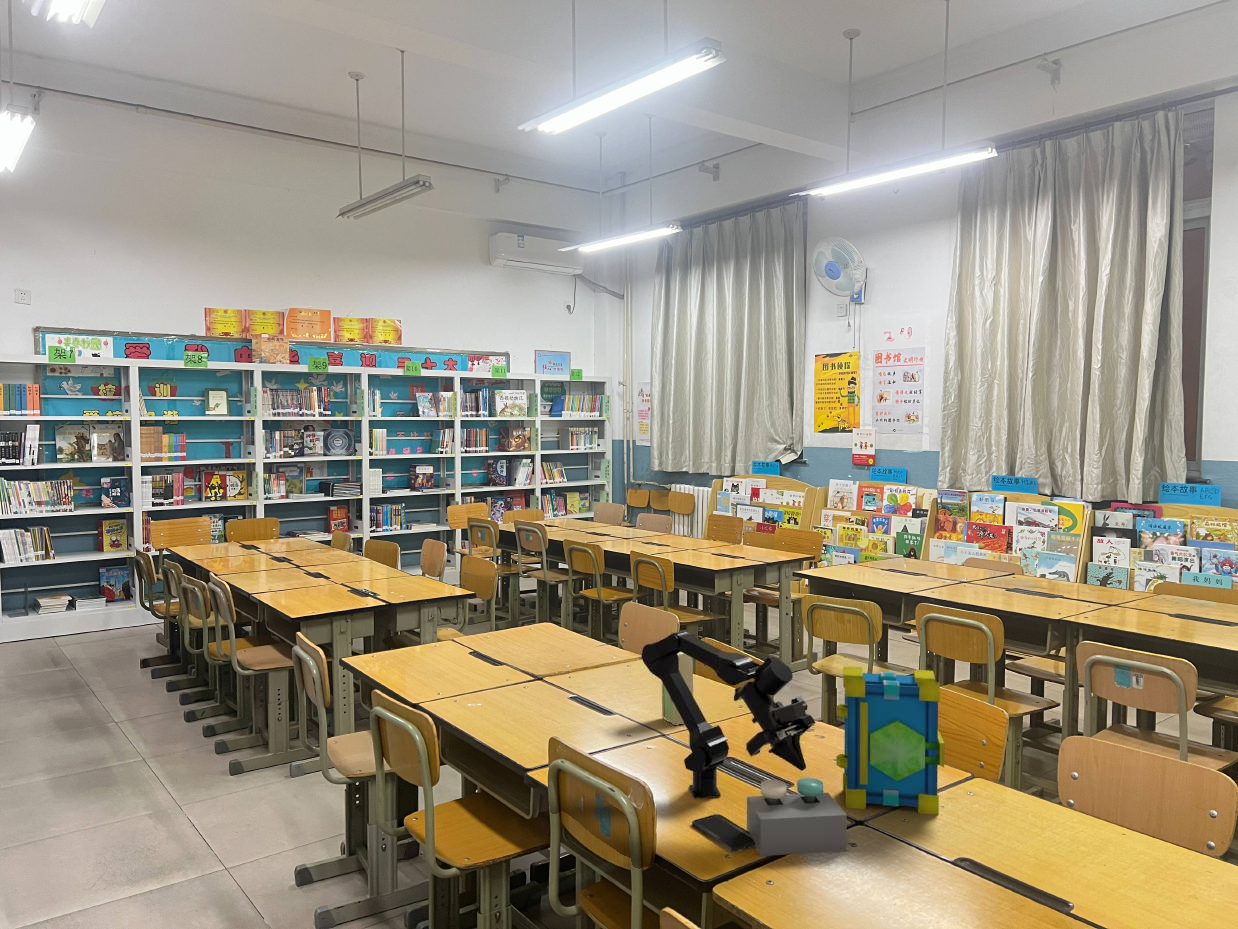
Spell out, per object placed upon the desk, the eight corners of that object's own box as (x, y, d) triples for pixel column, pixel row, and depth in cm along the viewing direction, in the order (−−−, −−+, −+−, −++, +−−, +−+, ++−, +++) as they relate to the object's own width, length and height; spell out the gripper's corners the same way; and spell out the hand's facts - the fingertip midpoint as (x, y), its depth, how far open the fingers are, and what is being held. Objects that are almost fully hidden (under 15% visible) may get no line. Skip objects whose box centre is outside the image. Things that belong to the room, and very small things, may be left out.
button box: (746, 831, 186) (746, 796, 185) (827, 826, 188) (828, 792, 187) (760, 856, 175) (760, 819, 174) (846, 851, 177) (846, 815, 176)
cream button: (757, 802, 185) (757, 780, 185) (782, 801, 186) (782, 779, 186) (764, 813, 180) (764, 790, 180) (789, 812, 181) (789, 789, 180)
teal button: (793, 800, 186) (793, 778, 186) (818, 799, 187) (818, 777, 187) (801, 811, 181) (801, 788, 181) (826, 810, 181) (826, 787, 181)
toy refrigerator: (659, 718, 258) (658, 649, 258) (680, 715, 262) (680, 646, 261) (671, 726, 251) (671, 655, 250) (693, 723, 254) (693, 652, 254)
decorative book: (945, 819, 191) (946, 685, 189) (837, 811, 195) (838, 680, 194) (934, 793, 205) (935, 668, 203) (834, 785, 209) (835, 663, 208)
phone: (718, 813, 193) (762, 840, 180) (718, 818, 193) (762, 845, 180) (689, 821, 189) (732, 849, 176) (689, 826, 189) (732, 855, 176)
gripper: (757, 696, 182) (800, 762, 174) (808, 678, 194) (851, 739, 187) (728, 723, 188) (769, 789, 180) (779, 704, 200) (820, 765, 193)
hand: (804, 769), depth 185 cm, fingers closed
